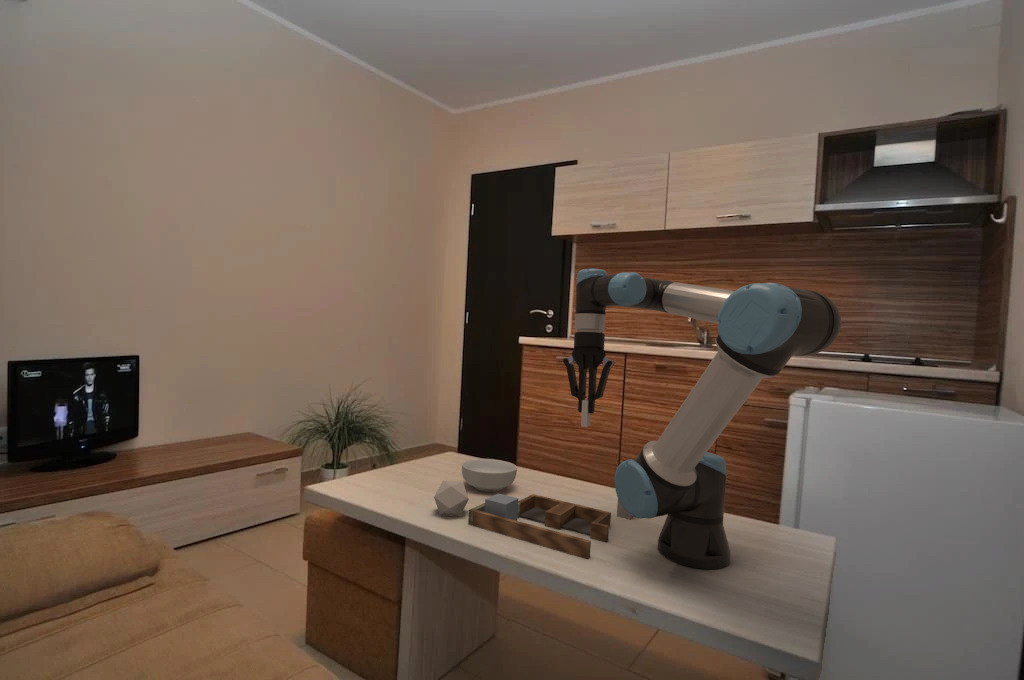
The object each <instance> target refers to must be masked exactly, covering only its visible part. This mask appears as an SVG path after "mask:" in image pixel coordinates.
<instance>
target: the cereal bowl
mask: <svg viewBox="0 0 1024 680" xmlns="http://www.w3.org/2000/svg"><path fill="white" fill-rule="evenodd" d="M517 469H518V467H517V465H516V464H514V463H512V462H509V461H505V460H500V459H494V458H474V459H473V458H472V459H468V460H465V461H464V462H463V463H462V464H461V474H462V478H463V480H464V481H465V482H466V484H469V486H472V487H473V488H475V489H476V490H478V491H480V492H486V493H487V492H489V493H493V492H499V491H500V490H502V489H504V488H508V487H509V486H511V485H513V483H514V481H515V480H516V477H517Z"/></svg>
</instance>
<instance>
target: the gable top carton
mask: <svg viewBox="0 0 1024 680" xmlns="http://www.w3.org/2000/svg"><path fill="white" fill-rule="evenodd" d="M616 507H617V508H616V517H618V518H621V519H626V520H632V519H633V518H634V517H633V516H632V515H630V514H629V513H628V512H627V511H626V510H625V509H624V508H623V506H622V505H621V503H620V501H619V499H618V498H617V504H616Z"/></svg>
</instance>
